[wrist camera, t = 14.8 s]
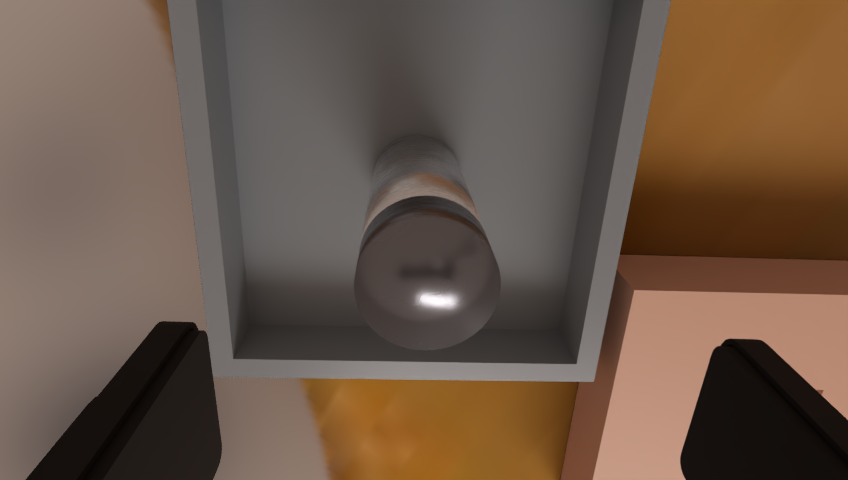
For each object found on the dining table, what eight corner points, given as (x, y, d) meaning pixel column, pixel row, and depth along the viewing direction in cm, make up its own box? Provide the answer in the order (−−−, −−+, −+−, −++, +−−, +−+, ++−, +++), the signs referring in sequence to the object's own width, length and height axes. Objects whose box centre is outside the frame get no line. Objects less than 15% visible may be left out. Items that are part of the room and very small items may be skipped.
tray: (632, -27, 23) (678, -36, 19) (569, 336, 30) (593, 381, 26) (199, -52, 22) (158, -67, 18) (237, 330, 29) (213, 377, 25)
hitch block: (896, 262, 29) (970, 297, 25) (802, 486, 35) (850, 542, 31) (603, 254, 28) (634, 290, 24) (559, 486, 34) (578, 543, 30)
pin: (463, 136, 24) (508, 221, 14) (456, 220, 26) (493, 351, 15) (374, 132, 24) (353, 216, 14) (372, 217, 25) (353, 348, 15)
